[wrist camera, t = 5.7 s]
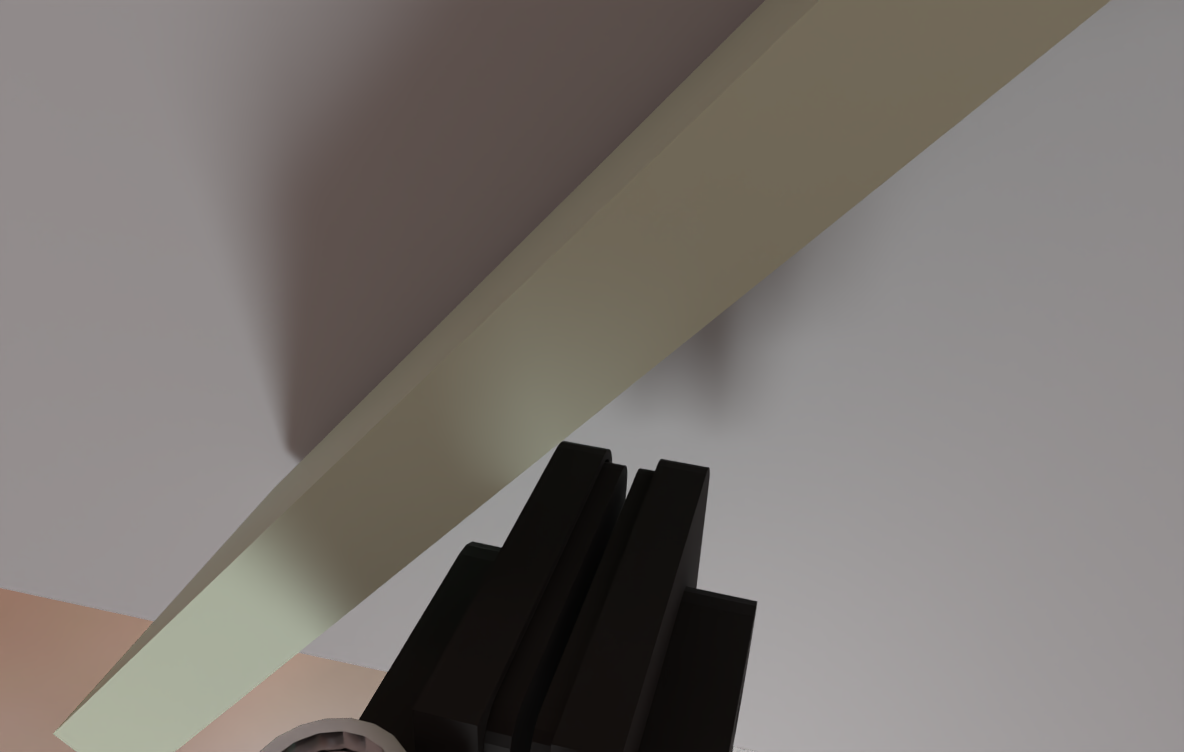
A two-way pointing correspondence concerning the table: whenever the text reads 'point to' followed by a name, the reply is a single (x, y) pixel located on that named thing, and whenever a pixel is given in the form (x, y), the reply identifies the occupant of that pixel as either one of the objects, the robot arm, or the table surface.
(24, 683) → the table surface
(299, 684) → the table surface
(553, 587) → the robot arm
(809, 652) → the board
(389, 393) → the gate panel
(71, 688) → the table surface
